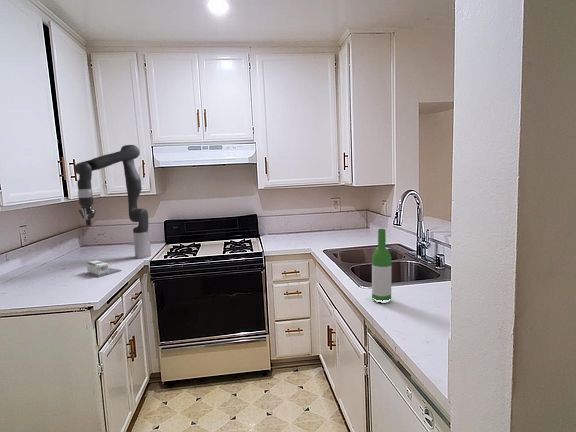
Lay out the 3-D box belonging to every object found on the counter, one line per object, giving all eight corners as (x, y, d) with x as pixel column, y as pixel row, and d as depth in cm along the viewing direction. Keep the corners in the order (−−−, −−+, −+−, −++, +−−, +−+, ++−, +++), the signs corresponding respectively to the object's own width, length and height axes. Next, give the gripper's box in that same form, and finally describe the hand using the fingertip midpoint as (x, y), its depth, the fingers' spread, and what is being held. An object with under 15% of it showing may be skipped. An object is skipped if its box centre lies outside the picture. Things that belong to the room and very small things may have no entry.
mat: (108, 268, 207) (108, 267, 207) (121, 270, 201) (121, 269, 201) (85, 274, 195) (85, 273, 195) (98, 277, 189) (98, 276, 189)
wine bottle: (395, 302, 141) (396, 229, 137) (379, 305, 138) (379, 231, 135) (383, 296, 148) (383, 227, 145) (368, 299, 145) (368, 228, 142)
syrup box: (96, 259, 204) (108, 262, 195) (97, 269, 204) (109, 272, 195) (86, 261, 199) (97, 265, 190) (87, 271, 200) (98, 275, 191)
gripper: (98, 196, 205) (101, 225, 208) (84, 196, 211) (87, 224, 214) (86, 197, 199) (89, 227, 201) (72, 197, 205) (75, 226, 207)
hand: (88, 225), depth 207 cm, fingers closed
